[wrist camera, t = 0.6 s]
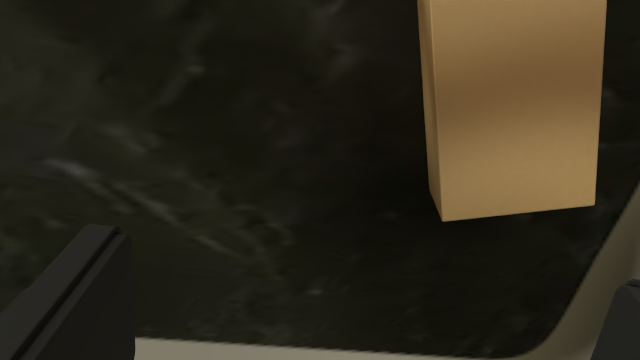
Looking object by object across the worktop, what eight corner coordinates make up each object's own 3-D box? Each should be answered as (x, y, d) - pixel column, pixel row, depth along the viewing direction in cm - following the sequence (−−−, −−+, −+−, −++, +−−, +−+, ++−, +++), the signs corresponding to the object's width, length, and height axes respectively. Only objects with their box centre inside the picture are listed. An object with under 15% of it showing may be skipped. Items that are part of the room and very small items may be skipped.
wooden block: (410, -101, 22) (423, -111, 19) (574, -126, 22) (616, -140, 19) (429, 190, 27) (442, 222, 24) (563, 175, 27) (595, 205, 23)
